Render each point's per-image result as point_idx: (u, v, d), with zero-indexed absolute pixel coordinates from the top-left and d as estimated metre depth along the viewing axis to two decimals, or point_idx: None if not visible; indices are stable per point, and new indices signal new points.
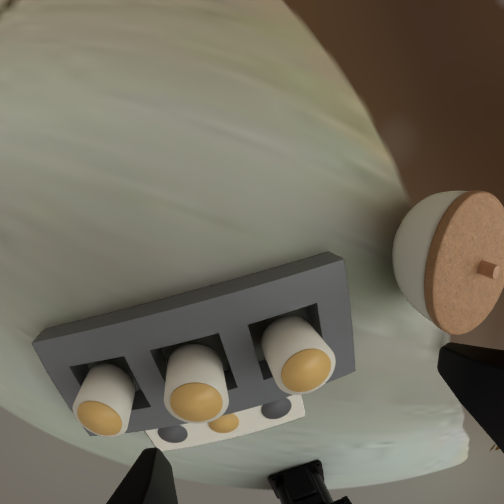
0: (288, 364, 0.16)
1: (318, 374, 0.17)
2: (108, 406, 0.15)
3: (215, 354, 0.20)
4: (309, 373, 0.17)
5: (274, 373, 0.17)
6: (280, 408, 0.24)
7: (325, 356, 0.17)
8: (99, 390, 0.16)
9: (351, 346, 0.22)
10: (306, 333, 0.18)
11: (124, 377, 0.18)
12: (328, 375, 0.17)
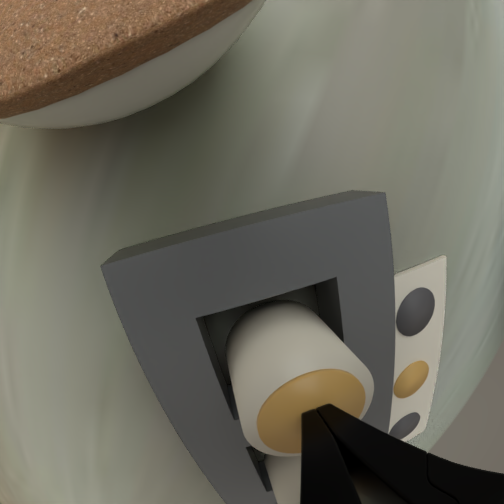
0: (284, 448, 0.07)
1: (330, 394, 0.07)
2: None
3: None
4: None
5: None
6: (419, 306, 0.14)
7: (284, 393, 0.07)
8: None
9: (320, 213, 0.09)
10: (235, 388, 0.08)
11: None
12: (344, 367, 0.07)
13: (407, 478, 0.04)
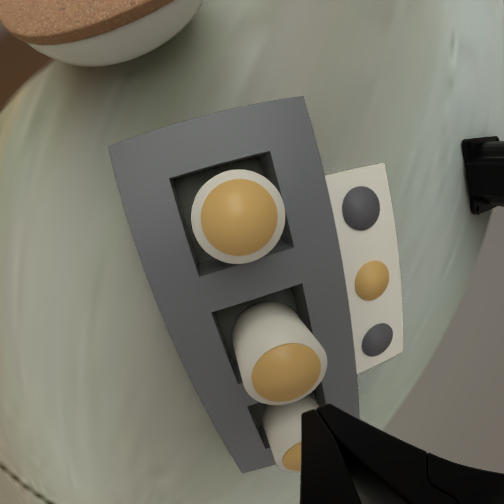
0: (222, 248, 0.12)
1: (247, 198, 0.12)
2: (289, 448, 0.14)
3: (244, 314, 0.15)
4: (243, 213, 0.12)
5: (239, 262, 0.13)
6: (362, 202, 0.17)
7: (215, 191, 0.12)
8: (273, 448, 0.15)
9: (253, 108, 0.13)
10: None
11: (275, 407, 0.17)
12: (254, 179, 0.12)
13: (406, 478, 0.04)
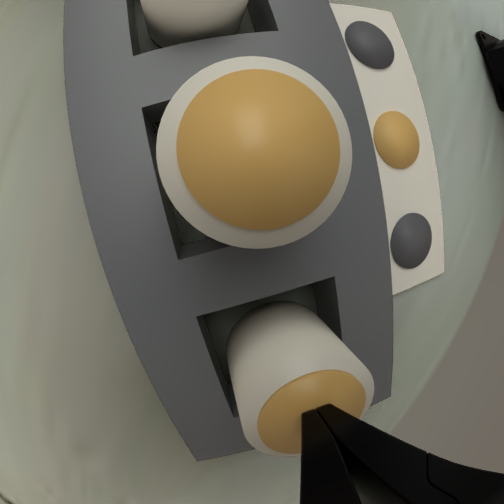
0: None
1: None
2: (272, 394, 0.07)
3: None
4: None
5: (190, 1, 0.06)
6: (371, 38, 0.11)
7: None
8: (239, 398, 0.08)
9: None
10: None
11: (248, 322, 0.10)
12: None
13: (406, 478, 0.04)
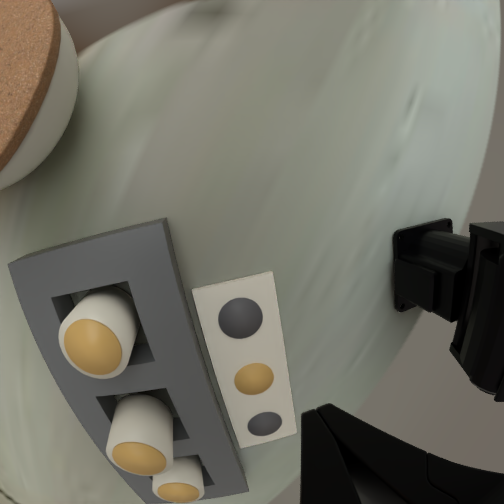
0: (83, 367, 0.13)
1: (95, 335, 0.12)
2: (160, 485, 0.16)
3: (121, 401, 0.16)
4: (93, 346, 0.13)
5: (99, 377, 0.13)
6: (241, 314, 0.18)
7: (71, 327, 0.12)
8: (152, 482, 0.16)
9: (112, 238, 0.14)
10: None
11: None
12: (100, 320, 0.12)
13: (406, 478, 0.04)
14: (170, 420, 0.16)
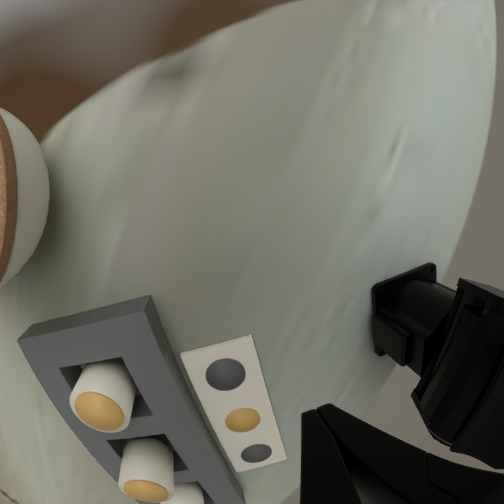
0: (93, 425, 0.14)
1: (100, 404, 0.14)
2: None
3: (128, 443, 0.17)
4: (99, 411, 0.14)
5: (107, 431, 0.15)
6: (226, 371, 0.19)
7: (79, 398, 0.14)
8: (160, 503, 0.18)
9: (103, 324, 0.15)
10: None
11: None
12: (102, 393, 0.14)
13: (406, 478, 0.04)
14: (170, 457, 0.17)
